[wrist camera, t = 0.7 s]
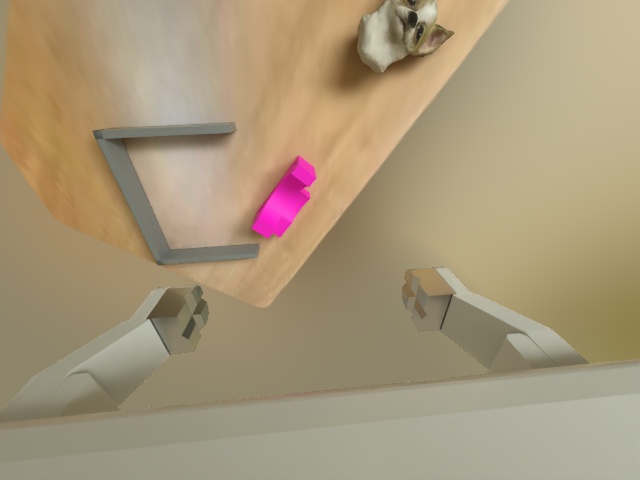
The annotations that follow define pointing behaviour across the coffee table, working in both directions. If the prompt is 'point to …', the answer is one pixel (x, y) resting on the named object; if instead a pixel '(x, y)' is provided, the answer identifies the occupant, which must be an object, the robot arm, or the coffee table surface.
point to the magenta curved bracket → (285, 200)
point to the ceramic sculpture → (399, 32)
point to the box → (140, 203)
